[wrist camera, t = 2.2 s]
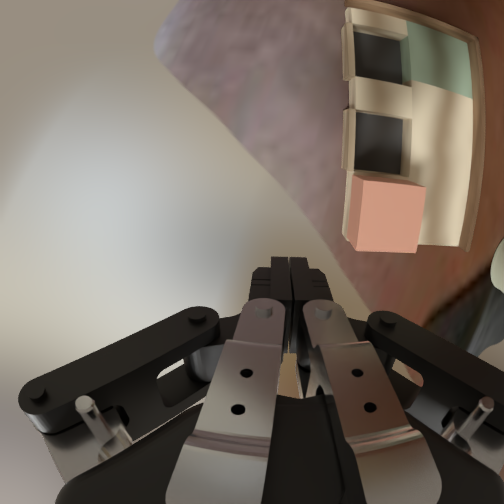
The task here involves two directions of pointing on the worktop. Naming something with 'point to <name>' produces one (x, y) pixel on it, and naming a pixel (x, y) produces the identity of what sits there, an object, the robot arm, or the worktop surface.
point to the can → (498, 267)
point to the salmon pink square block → (385, 214)
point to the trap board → (415, 113)
